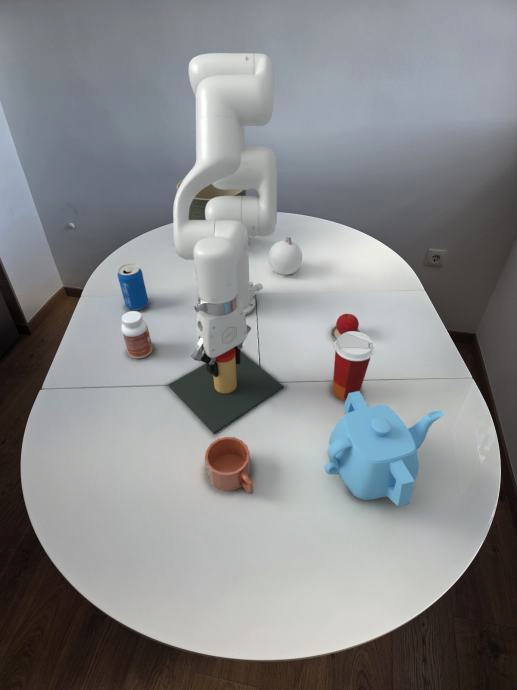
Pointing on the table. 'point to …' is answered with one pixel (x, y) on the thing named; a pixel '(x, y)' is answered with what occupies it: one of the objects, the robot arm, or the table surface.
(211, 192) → the planter
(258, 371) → the mat
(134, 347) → the pill bottle
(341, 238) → the table surface
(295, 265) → the ornament
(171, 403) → the table surface
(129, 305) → the beverage can
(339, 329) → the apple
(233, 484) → the terracotta mug
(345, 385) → the coffee cup
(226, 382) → the jar
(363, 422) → the teapot
